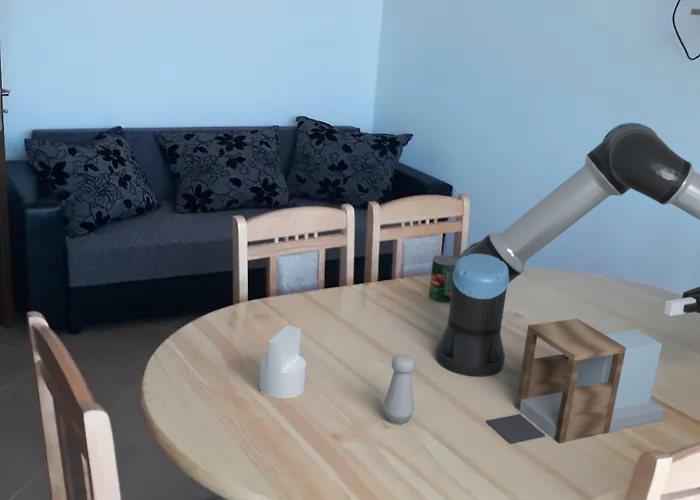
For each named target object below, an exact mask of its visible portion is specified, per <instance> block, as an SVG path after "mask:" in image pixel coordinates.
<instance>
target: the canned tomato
mask: <svg viewBox="0 0 700 500" xmlns="http://www.w3.org/2000/svg"><path fill="white" fill-rule="evenodd" d="M458 259H459V257H457V256H453V255H448V254H437V255H434V256H433V257H432V264H431V273H430V285H429V293H428V299H430V300H431V301H433V302H435V303H439V304H443V303H444V304H445V305H448V304H449V305H450V301H451V293H452V284H453V271H454V268H455V265H456V262H457V261H458Z"/></svg>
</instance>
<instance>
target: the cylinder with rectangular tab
mask: <svg viewBox="0 0 700 500" xmlns="http://www.w3.org/2000/svg"><path fill="white" fill-rule="evenodd" d="M301 330H302V328H301V327H298V326H294V325H293V326H292V325H286V326H285V327H283V328H282V329H281V330H279V332H278V333H277V334H275V335H273V337H272V338H271V339H270V340H269V341H268V348H267V354H266V355H264V356H263V357H262V358H261V360H260V375H259V390H260V389H261V391H262V392H263V393H265V394H267V395H269V396H272V397H275V398H283V399H284V398H285V399H286V398H293V397H297V396H299V395H301V394H302V393H303V392H304V393H305V391H304V390H305V389H306V388H305V387H306V371H307V360H306V359H305V358H304V357H302V356H301V355H300V349H301V348H300V347H301V346H300V345H301ZM304 393H303V394H304Z"/></svg>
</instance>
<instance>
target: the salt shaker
mask: <svg viewBox="0 0 700 500" xmlns="http://www.w3.org/2000/svg"><path fill="white" fill-rule="evenodd" d="M391 368H392V370H393V373H392V376H391V380H390V383H389V386H388V390H387V392H386V396H385V400H384V403H383V406H382V407H383V408H382V409H383V412H384V414H385V416H386V419H387V420H388V421H389V422H390V423H391V424H394V425H398V424H400V426H401V424H402V425H405V424H407V423H408V422H409V421H410V420H411V418H412V416H413V414H414V411H415V406H414V405H415V403H414V393H413V384H412V383H413V382H412V372H414V370H415V368H416V360H415V358H413V357H412V356H411V355H408V354H397V355H395V356H393V359H392V361H391Z"/></svg>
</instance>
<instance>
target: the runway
mask: <svg viewBox="0 0 700 500" xmlns="http://www.w3.org/2000/svg"><path fill="white" fill-rule="evenodd" d="M562 393H563V392H559V393H554V394H548V395H543V396H538V397H532V398H527V399H523V400H521V405H520V411H519V412H520V413H522V414H523V415H524V417H525V418H527V419H528V420H530V421H531V422H532V423H534V424H535V425H536V427H538V428H539V429H541V430H543V431H542V432H545V433H546V434H547V435H548V436H550V437H551V438H552V439H553V440H554V438H555V432H556V426H557V421H558V415H559V410H560V404H561V399H562ZM664 412H665V408H663V407H662V406H660V405H659V404H658V403H656V402H654V401H653V400H651V399H650V401H649V403H644V404H639V405H634V406H629V407H624V408H619V409H614V410H613V415H612V420H611V424H610V429H609V433H610V432H613V431H614V432H615V431H618V430H624V429H628V428H632V427H637V426H641V425H646V424H651V423H656V422H659V421H660V422H661V421H663V418H664Z"/></svg>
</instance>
